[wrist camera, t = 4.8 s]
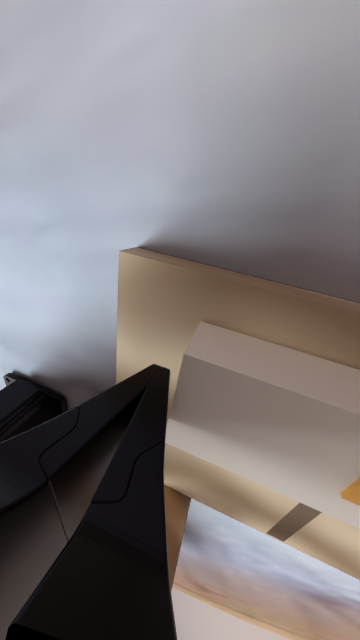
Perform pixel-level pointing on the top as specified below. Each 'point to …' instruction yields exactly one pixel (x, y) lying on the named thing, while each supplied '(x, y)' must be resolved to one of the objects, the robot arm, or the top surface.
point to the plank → (253, 320)
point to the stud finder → (271, 418)
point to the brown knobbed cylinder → (175, 525)
